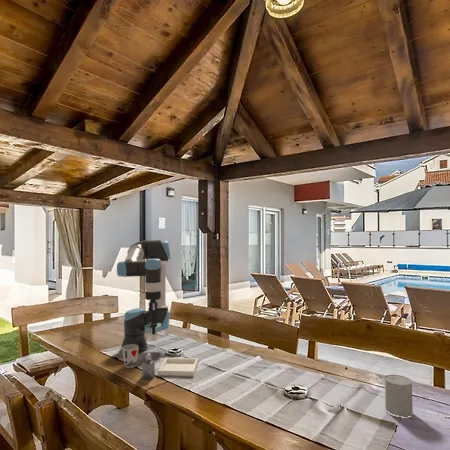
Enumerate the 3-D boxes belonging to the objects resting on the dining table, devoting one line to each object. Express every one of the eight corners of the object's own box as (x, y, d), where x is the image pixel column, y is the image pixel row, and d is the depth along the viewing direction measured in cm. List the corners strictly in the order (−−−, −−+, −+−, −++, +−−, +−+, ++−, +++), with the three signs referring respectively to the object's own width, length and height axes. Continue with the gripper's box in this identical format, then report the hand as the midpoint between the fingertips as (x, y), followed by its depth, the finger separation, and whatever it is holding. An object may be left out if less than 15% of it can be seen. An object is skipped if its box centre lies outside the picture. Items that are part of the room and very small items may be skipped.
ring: (153, 333, 166) (153, 328, 166) (141, 331, 170) (141, 326, 170) (166, 329, 174) (166, 324, 174) (154, 326, 177) (154, 322, 177)
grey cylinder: (404, 405, 140) (403, 374, 141) (418, 418, 131) (417, 384, 131) (380, 406, 140) (380, 374, 140) (392, 418, 130) (392, 385, 131)
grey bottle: (143, 374, 172) (143, 351, 172) (156, 374, 172) (156, 351, 172) (140, 379, 166) (140, 355, 166) (152, 379, 166) (152, 356, 166)
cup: (122, 369, 178) (122, 350, 178) (122, 364, 186) (122, 345, 186) (138, 368, 180) (138, 348, 180) (138, 362, 188) (138, 343, 188)
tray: (165, 362, 187) (165, 357, 188) (198, 363, 187) (198, 358, 187) (157, 376, 170) (157, 370, 170) (193, 376, 169) (193, 371, 169)
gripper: (144, 287, 180) (144, 332, 180) (145, 294, 160) (145, 345, 160) (159, 287, 182) (159, 331, 182) (162, 294, 162) (162, 344, 162)
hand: (153, 338), depth 171 cm, fingers closed on ring, 8 cm apart
